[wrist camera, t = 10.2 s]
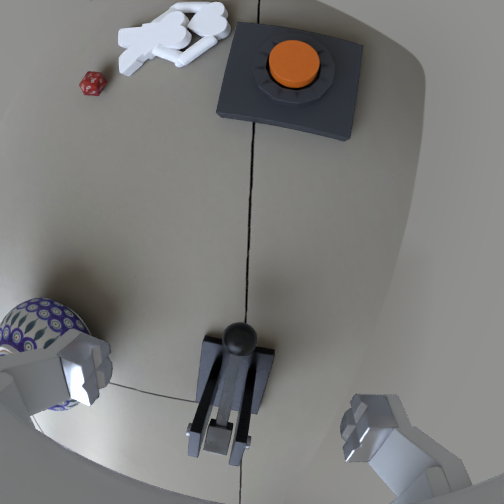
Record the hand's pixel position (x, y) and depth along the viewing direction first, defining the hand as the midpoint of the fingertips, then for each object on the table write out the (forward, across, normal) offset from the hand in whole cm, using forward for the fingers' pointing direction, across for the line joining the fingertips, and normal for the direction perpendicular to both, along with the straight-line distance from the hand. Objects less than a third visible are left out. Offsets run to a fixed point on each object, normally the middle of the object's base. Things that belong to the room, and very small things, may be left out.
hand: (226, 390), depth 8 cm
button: (+17, 0, -16) cm, 24 cm away
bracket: (+21, +1, +17) cm, 27 cm away
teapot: (+21, +25, +18) cm, 37 cm away
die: (+21, +21, -15) cm, 33 cm away
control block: (+21, 0, -16) cm, 26 cm away
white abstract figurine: (+21, +13, -20) cm, 32 cm away
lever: (+15, +1, +13) cm, 20 cm away
